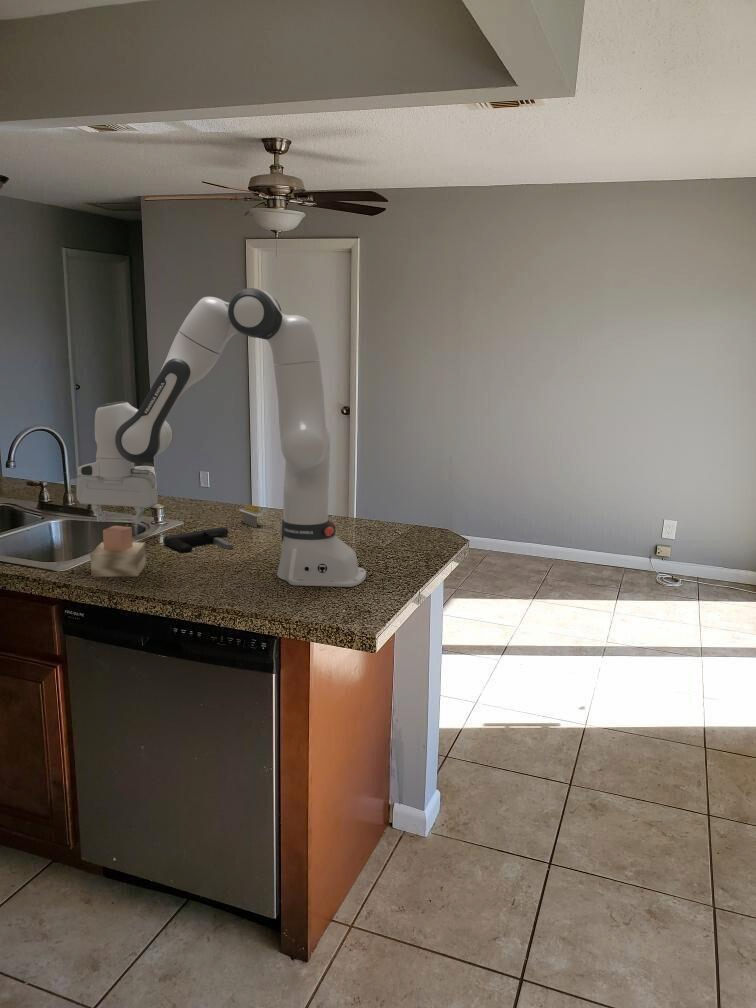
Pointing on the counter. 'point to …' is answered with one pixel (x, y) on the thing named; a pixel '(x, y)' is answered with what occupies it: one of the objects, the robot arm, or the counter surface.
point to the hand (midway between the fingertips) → (118, 522)
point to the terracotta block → (117, 538)
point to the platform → (250, 514)
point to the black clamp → (198, 539)
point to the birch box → (118, 561)
